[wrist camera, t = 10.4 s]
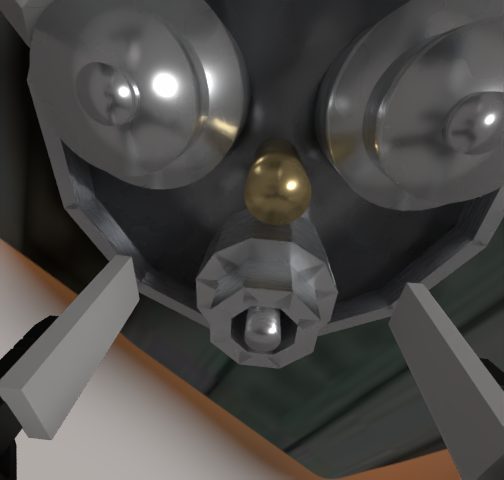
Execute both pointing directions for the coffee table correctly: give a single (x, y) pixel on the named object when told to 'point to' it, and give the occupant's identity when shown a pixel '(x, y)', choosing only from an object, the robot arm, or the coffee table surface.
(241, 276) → the grey nut
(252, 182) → the carrier
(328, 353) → the coffee table surface
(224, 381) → the coffee table surface
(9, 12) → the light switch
